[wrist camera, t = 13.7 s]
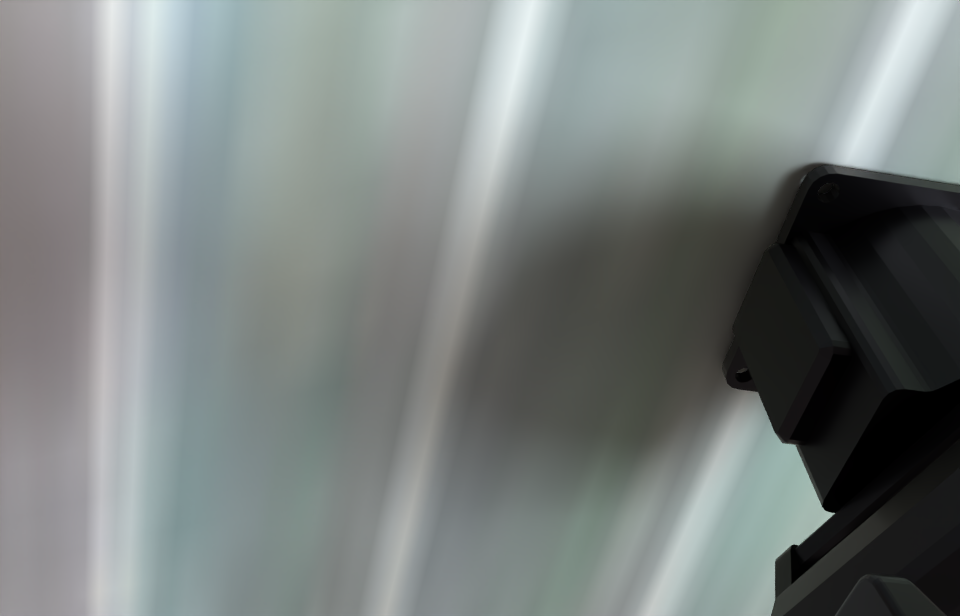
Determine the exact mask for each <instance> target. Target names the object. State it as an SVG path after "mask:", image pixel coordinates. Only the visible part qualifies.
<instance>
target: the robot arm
mask: <svg viewBox="0 0 960 616" xmlns="http://www.w3.org/2000/svg"><path fill="white" fill-rule="evenodd" d="M827 183H834V185H833V187H832V188H831V190H830V191H828V192H827V193H825V194H818V190H819V189H820V188H821V187H822V186H823V185H825V184H827ZM732 330H733V333H734V335H735V337H734V339H733V342H732V344H731V346H730V349H729V351H728V353H727V355H726V358H725V360H724V362H723V367H722V370H723V373H724V375H725V378H726V381H727V383H728V384H729V385H730V386H731V387H732V388H736V389H740V390H747V391H755V392H758V393H759V395H760V398H761V400H762V403H763V405H764V407H765V410H766V412H767V415H768V417H769V419H770V422H771V424H772V427H773V429H774V431H775V433H776V435H777V436H778V438H779V439H780V440H781V442H782V443H785V444H793V445H796V447H797V450H798V452H799V454H800V456H801V459H802V461H803V463H804V466H805V468H806V470H807V473H808V475H809V477H810V479H811V482H812V484H813V486H814V489H815V491H816V493H817V496H818V498H819V500H820V502H821V505H822V507H823V508H824V510H825V511H828V512H832V513H835V514H834V515H833V516H832V517H830V518H829V519H828V520H827V521H826V522H825V523H824V524H823V525H821V526H820V527H819V528H818V529H817V530H816V531H815V532H814V533H812V534H811V535H810V536H809V537H808V538H807V539H806V540H805V541H803V542H802V543H801V544H800V545H799V546H798V545H792V546H790V547H789V548H788V549H787V550H786V551H785V552H784V553H783V554H782V555H780V556H779V557H778V558H777V559H776V561H775V603H774V607H773V610H772V614H771V616H960V186H956V185H950V184H944V183H938V182H932V181H925V180H919V179H913V178H907V177H901V176H894V175H888V174H882V173H876V172H870V171H864V170H857V169H851V168H845V167H839V166H833V165H824V166H820V167H818V168H815V169H813V170H812V171H811V172H810V173H808V174H807V175H806V177H805V178H804V180H803V182H802V184H801V186H800V188H799V191H798V193H797V195H796V198H795V200H794V202H793V204H792V207H791V209H790V211H789V214H788V216H787V218H786V220H785V223H784V225H783V227H782V230H781V232H780V234H779V236H778V239H777V241H776V243H775V244H773V245H772V246H771V247H769V248H768V249H767V250H766V251H765V253H764V255H763V258H762V260H761V262H760V264H759V267H758V269H757V271H756V274H755V276H754V278H753V281H752V283H751V285H750V288H749V290H748V292H747V295H746V297H745V299H744V302H743V304H742V306H741V308H740V311H739V313H738V315H737V318H736V320H735V322H734V325H733V329H732ZM742 368H748V370H747V371H745V372H742V373H737V372H738V370H740V369H742Z"/></svg>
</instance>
